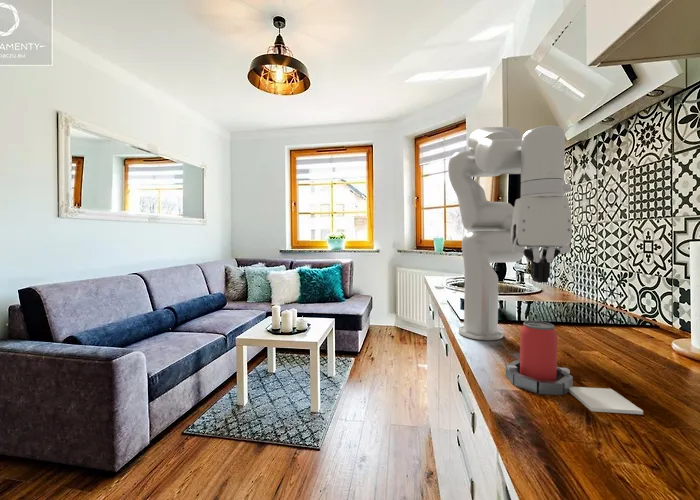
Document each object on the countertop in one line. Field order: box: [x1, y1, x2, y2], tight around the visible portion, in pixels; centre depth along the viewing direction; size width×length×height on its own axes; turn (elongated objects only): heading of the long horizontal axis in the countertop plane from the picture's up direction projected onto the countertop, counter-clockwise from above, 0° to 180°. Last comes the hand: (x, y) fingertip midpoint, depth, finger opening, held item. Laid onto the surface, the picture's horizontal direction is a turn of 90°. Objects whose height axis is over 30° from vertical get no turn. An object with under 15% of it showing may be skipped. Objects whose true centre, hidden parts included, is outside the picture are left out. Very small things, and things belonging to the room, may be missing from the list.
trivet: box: [568, 386, 644, 415], centre depth 59 cm, size 8×8×1 cm
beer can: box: [519, 320, 558, 381], centre depth 66 cm, size 7×7×12 cm
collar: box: [505, 359, 574, 396], centre depth 67 cm, size 11×12×3 cm
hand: (540, 281), depth 66 cm, fingers closed
